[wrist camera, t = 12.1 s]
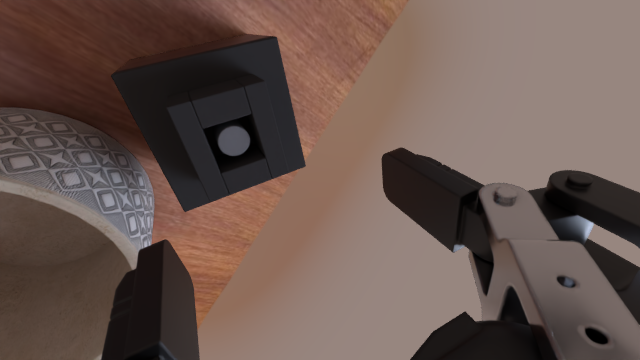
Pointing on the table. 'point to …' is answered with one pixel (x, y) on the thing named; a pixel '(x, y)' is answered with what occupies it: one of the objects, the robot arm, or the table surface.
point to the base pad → (198, 76)
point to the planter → (65, 233)
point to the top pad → (220, 107)
